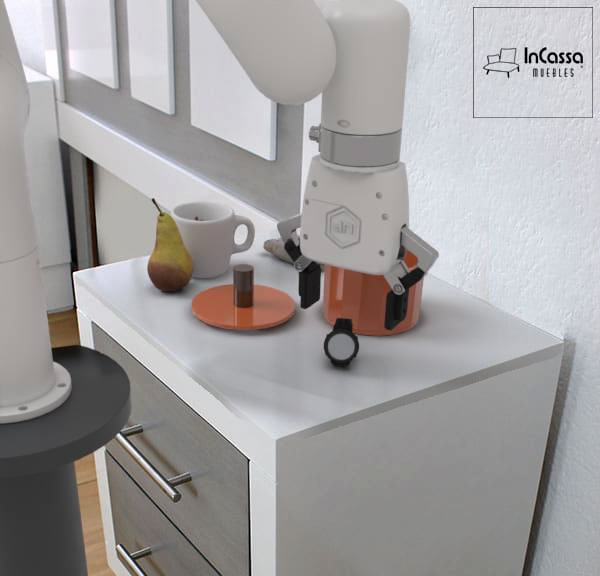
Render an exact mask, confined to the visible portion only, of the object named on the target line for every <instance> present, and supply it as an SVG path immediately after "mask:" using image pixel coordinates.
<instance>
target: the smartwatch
mask: <svg viewBox="0 0 600 576" xmlns="http://www.w3.org/2000/svg"><path fill="white" fill-rule="evenodd" d="M352 328H353V323H352V319H345V318H337V319H336V322H335V324H334V326H333V327H332V330H331V331H330V332H329V333H327V334H326V336H325V338H324V340H323V351H324V354H325V356H326V357H327V358H328V359H329V360H330V364H331V366H336V367H349V366H350V363H351V362H352V361H353V360H354V359H355V358H357V355H358V353H359V351H360V342H359V337H358V335H356V333H353V330H352Z"/></svg>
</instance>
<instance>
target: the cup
mask: <svg viewBox="0 0 600 576" xmlns="http://www.w3.org/2000/svg"><path fill="white" fill-rule="evenodd" d="M170 216H171V217H172V218H173V219H174V221H175V223H176V224H177V227H178V229H179V232H180V234H181V237H182V240H183V243H184V245H185V248H186V250H187V251H188V253H189V254H190V256H191V258H192V261H193V264H194V269H193V274H192V277H191V278H196V279H211V278H212V279H213V278H217V277H220V276H222V275H224V274H225V273H227V271H228V269H229V267H230V263H231V258H232V256H233V255H235V254H241V253H244V252H247V251H248V250H250V249H251V247H252V245H253V244H254V241H255V237H256V236H255V235H256V230H255V225H254V223H253V221H252V220H251V219H250V218H248V217H247V216H244V215H240V214H238V215H237V214H236V213H235V211H234V209H233V208H231V207H230V206H228V205H227V204H224V203H220V202H213V201H191V202H185V203H181V204H178V205H176V206H174V207H173V208H172V209H171V211H170ZM241 225H244V226H245V227H246V229H247V235H246V239H245V240H244V242H243V243H241V244H237V243H236V241H235V234H236V231H237V229H238V227H240V226H241Z"/></svg>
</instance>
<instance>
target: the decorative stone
mask: <svg viewBox="0 0 600 576" xmlns="http://www.w3.org/2000/svg"><path fill="white" fill-rule="evenodd" d="M297 237H298V238H299V239H300V234H299V235H298V234H297ZM284 245H285V244H284V241H282V238H281V237H278V238H270V239H266V240H265V241H264V242H263V246H262V248H263V250H264V251H265V252H268V253H269V254H271V255H275V257H277V258H279V259H282V260H283V261H286V262H288V263H290V264H293V265H294V262H293V260H292V259H291V257H290V256H289V255H288V253H287V252H286V251H285V249H284ZM317 264H320V267H321V271H325V264H322V263H318V262H317Z"/></svg>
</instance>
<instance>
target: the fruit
mask: <svg viewBox="0 0 600 576" xmlns="http://www.w3.org/2000/svg"><path fill="white" fill-rule="evenodd" d="M151 202H152V204H154V206H155V207H156V209H157V210H158V212H159V214H157V220H156V221H157V222H156V227H155V228H156V229H155V243H154V248H153V251H152V252H151V254H150V256H149V259H148V262H147V266H146V267H147V268H146V271H147V275H148V278H149V280H150V282H151V283H152V285H153V286H154V287H155V288H156V289H157V290H159V291H161V292H176V291H180V290H182V289H184V288H185V287H186V286H187V285H188V284H190V281H191V280H192V278H193V277H192V274H193V269H194V264H193V261H192V258H191V256H190V254H189V253H188V251H187V250H186V248H185V245H184V243H183V240H182V237H181V234H180V232H179V229H178V227H177V224H176V223H175V221H174V219H173V218H172V217H171V214H169V213H168V212H166V211H162V209H161V208H160V206H159V204H158V202H157V201H156V199H155V198H153V197H152V198H151Z"/></svg>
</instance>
